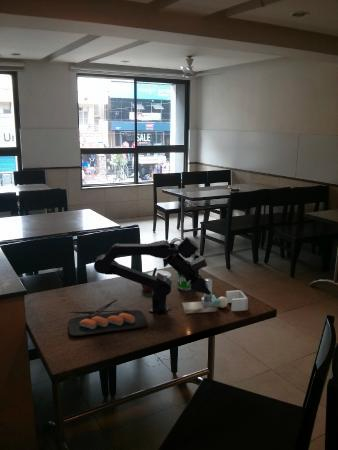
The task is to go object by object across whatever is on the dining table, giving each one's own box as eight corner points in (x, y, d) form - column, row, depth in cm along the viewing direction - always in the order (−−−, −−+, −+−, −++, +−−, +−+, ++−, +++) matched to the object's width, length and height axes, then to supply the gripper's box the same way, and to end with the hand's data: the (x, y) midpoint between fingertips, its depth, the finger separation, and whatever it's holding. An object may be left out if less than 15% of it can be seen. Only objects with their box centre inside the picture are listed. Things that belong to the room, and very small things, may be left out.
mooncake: (148, 286, 193) (148, 278, 192) (145, 277, 205) (145, 270, 204) (173, 284, 195) (173, 276, 195) (168, 275, 207) (168, 268, 206)
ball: (225, 310, 167) (225, 300, 166) (215, 308, 169) (215, 298, 168) (228, 305, 171) (229, 295, 170) (218, 303, 173) (219, 294, 172)
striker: (204, 307, 165) (204, 282, 163) (200, 301, 171) (201, 277, 168) (217, 306, 166) (218, 282, 163) (213, 300, 172) (214, 276, 169)
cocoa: (139, 289, 190) (137, 264, 187) (151, 286, 192) (149, 262, 190) (147, 296, 181) (145, 270, 179) (160, 292, 184) (158, 267, 181)
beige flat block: (185, 313, 164) (185, 310, 164) (182, 306, 171) (182, 302, 170) (216, 311, 166) (216, 307, 165) (212, 304, 173) (212, 300, 172)
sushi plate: (69, 341, 145) (68, 331, 144) (66, 306, 173) (66, 297, 172) (149, 330, 152) (149, 320, 151) (134, 298, 180) (134, 290, 179)
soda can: (174, 286, 191) (174, 262, 188) (188, 284, 194) (189, 260, 192) (181, 292, 185) (182, 267, 182) (196, 289, 188) (196, 265, 185)
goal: (232, 311, 166) (232, 299, 165) (225, 302, 174) (226, 291, 173) (247, 310, 167) (248, 298, 166) (240, 301, 175) (240, 290, 174)
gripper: (199, 258, 153) (227, 283, 157) (190, 244, 171) (215, 267, 175) (179, 279, 154) (207, 304, 158) (172, 263, 172) (197, 286, 176)
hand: (207, 289), depth 167 cm, fingers open, 9 cm apart
